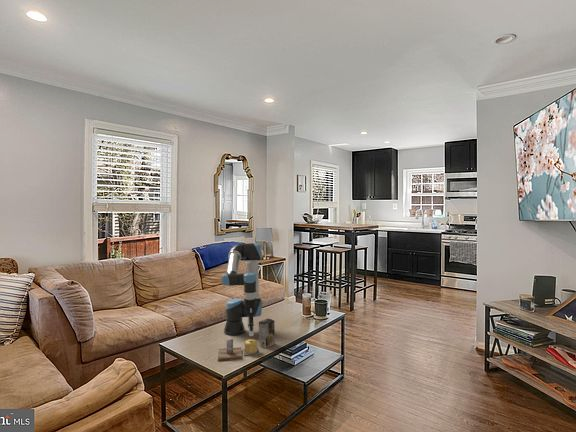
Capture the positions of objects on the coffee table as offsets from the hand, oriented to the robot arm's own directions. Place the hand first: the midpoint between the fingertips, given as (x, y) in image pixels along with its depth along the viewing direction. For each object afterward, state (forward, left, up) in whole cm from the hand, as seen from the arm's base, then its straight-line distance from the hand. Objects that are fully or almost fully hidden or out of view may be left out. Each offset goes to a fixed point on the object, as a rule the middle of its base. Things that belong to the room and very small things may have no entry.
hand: (250, 331), depth 213 cm
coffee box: (-9, +11, -13) cm, 19 cm away
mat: (0, 0, -13) cm, 13 cm away
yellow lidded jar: (0, 0, -12) cm, 12 cm away
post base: (+2, -13, -13) cm, 18 cm away
